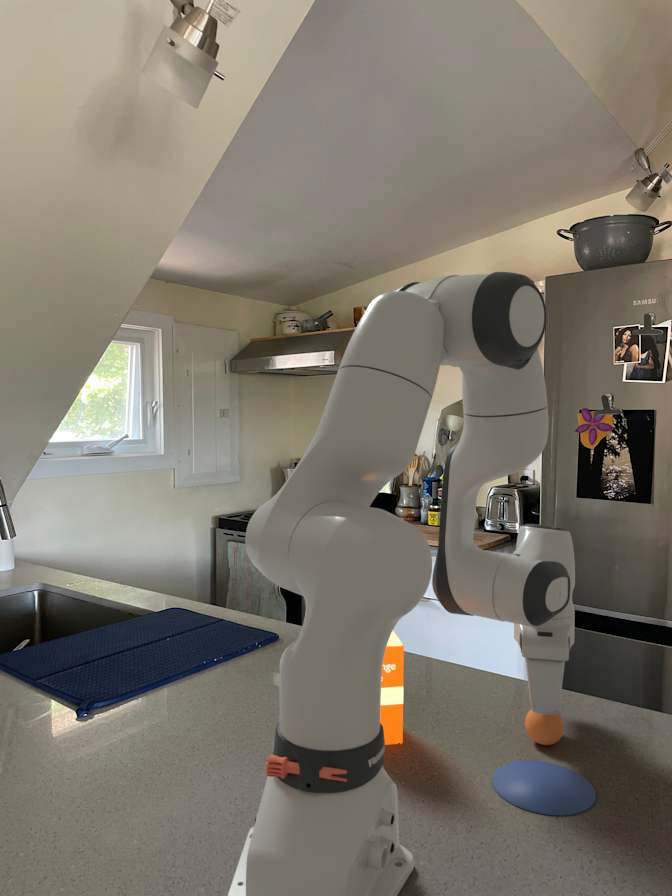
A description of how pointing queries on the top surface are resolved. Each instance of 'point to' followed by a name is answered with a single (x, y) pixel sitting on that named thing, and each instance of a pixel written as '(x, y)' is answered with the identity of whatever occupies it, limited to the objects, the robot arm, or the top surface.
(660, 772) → the top surface
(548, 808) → the blue flat disc
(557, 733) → the ball
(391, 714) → the orange juice
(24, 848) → the top surface
